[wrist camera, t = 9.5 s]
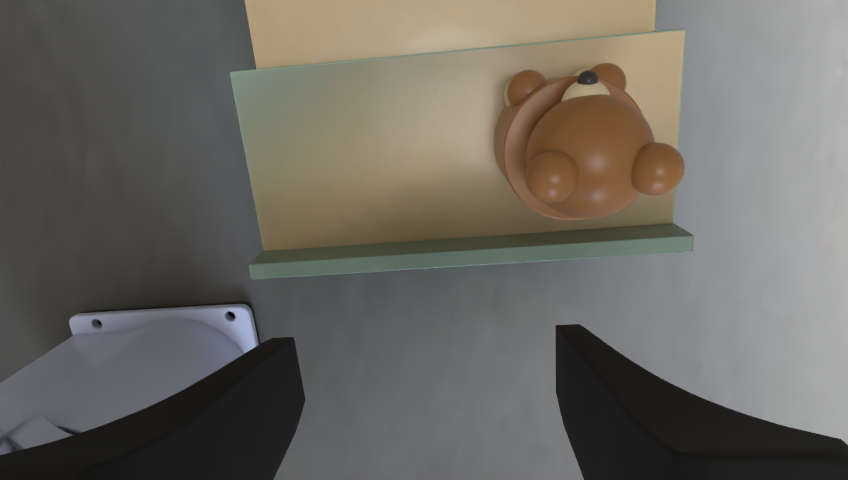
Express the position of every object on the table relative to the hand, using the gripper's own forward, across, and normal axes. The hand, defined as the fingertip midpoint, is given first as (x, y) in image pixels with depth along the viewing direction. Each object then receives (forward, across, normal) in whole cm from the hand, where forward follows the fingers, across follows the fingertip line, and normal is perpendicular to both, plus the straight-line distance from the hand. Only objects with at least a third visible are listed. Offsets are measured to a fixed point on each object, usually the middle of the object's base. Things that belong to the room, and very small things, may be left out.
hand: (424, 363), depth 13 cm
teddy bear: (+6, -4, -5) cm, 9 cm away
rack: (+10, -1, -8) cm, 13 cm away
